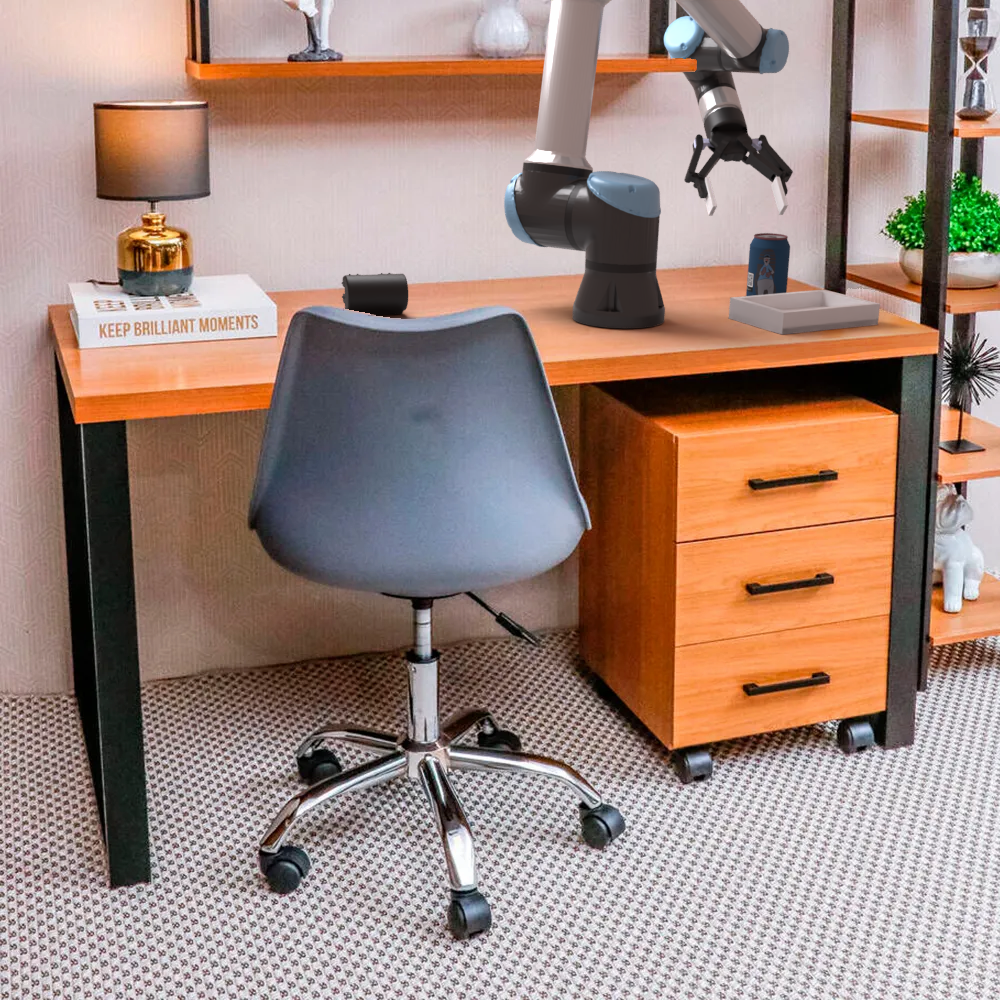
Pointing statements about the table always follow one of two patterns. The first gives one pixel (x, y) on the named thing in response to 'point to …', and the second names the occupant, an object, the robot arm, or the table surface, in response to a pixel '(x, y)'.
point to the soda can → (768, 264)
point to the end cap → (376, 293)
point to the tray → (803, 311)
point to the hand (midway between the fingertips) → (748, 210)
